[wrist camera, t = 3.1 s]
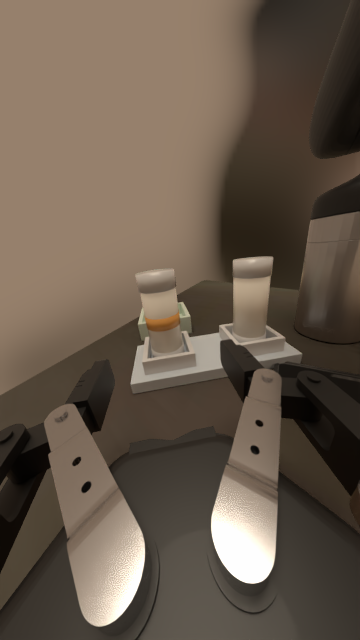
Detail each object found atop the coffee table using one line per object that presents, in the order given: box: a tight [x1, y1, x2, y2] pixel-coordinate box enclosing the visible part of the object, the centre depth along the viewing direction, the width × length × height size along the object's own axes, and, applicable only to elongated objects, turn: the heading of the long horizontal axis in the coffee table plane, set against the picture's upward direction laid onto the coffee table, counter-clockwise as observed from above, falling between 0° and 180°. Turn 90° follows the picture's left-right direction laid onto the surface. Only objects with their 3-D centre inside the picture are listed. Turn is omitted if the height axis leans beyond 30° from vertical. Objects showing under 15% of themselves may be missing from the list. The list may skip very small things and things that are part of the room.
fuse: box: [232, 257, 273, 343], centre depth 24 cm, size 5×5×12 cm
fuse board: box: [130, 323, 302, 394], centre depth 25 cm, size 22×9×4 cm, turn 97°
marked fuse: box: [135, 268, 185, 358], centre depth 23 cm, size 5×5×12 cm
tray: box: [138, 302, 192, 341], centre depth 38 cm, size 10×10×4 cm
